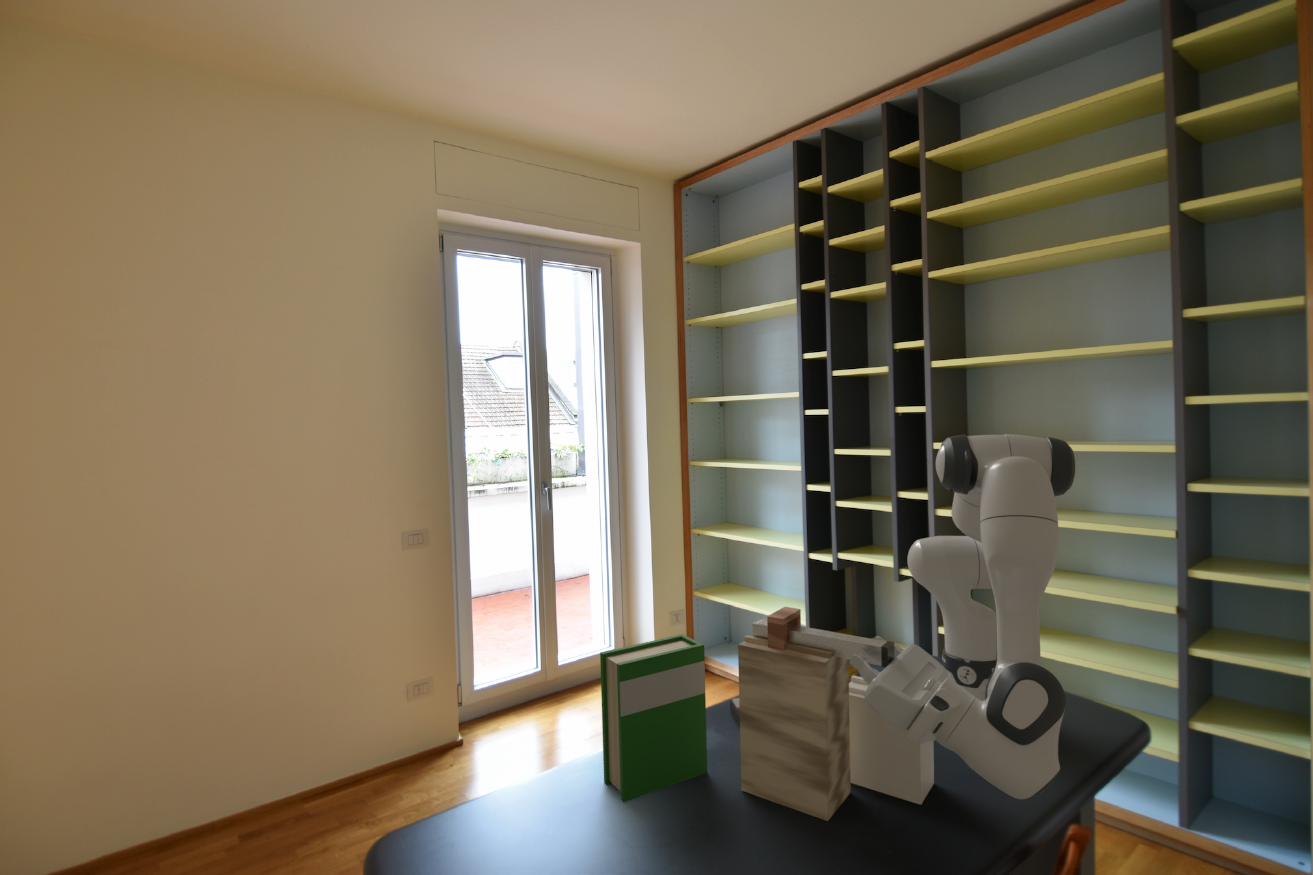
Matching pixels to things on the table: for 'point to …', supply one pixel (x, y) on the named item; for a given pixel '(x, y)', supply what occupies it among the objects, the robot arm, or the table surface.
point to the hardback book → (653, 715)
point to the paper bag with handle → (793, 721)
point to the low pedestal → (886, 752)
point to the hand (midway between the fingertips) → (863, 648)
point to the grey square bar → (834, 642)
